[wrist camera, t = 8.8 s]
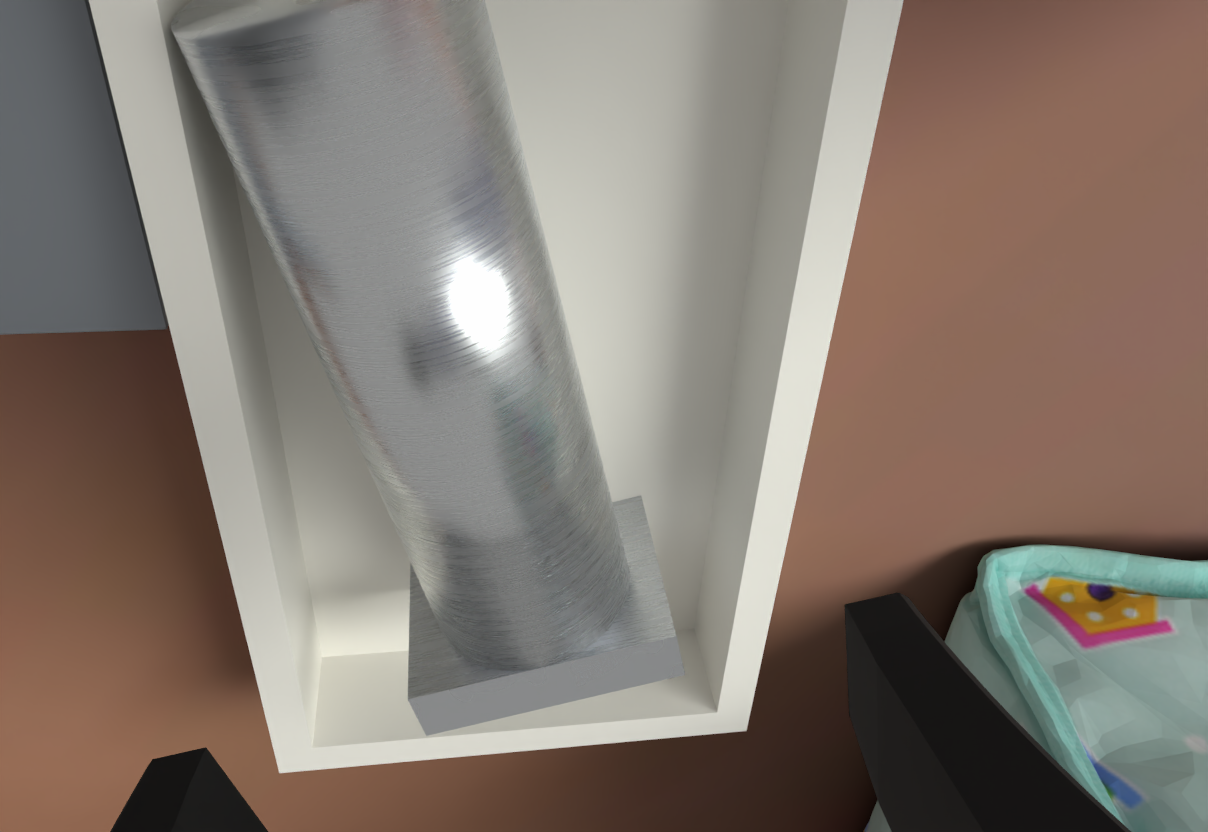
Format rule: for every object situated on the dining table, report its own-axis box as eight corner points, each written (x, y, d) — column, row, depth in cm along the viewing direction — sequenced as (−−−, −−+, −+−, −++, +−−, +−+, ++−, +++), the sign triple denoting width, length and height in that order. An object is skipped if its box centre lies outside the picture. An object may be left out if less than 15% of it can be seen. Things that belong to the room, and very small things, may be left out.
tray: (873, -296, 14) (964, -286, 12) (716, 629, 26) (746, 730, 24) (86, -339, 13) (5, -338, 10) (294, 661, 25) (279, 772, 22)
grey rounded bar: (161, -12, 15) (88, 79, 12) (506, -96, 15) (527, -27, 12) (426, 586, 23) (426, 736, 20) (649, 533, 23) (684, 675, 20)
